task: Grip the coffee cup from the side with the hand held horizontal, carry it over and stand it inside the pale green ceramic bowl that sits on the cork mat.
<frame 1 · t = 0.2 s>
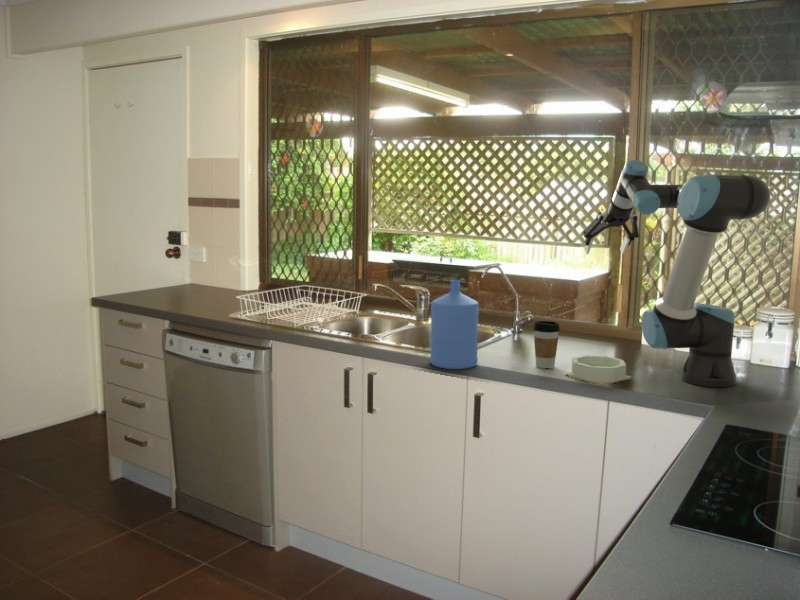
hand: (604, 251, 246), 35 cm above the worktop, tool tilted 35°, fingers open, 13 cm apart
coffee cup: (544, 367, 222), on the worktop
water jug: (453, 364, 226), on the worktop
bowl: (598, 377, 210), on the worktop
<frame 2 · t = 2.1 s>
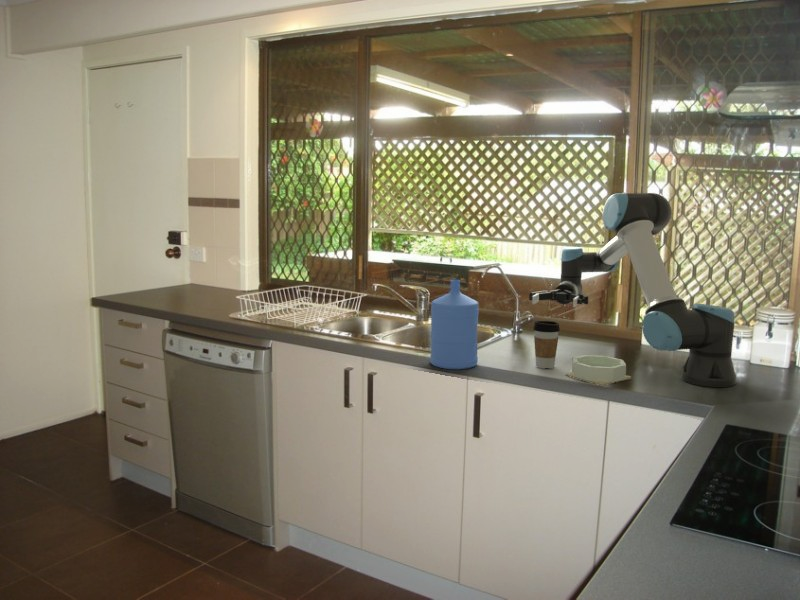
hand: (553, 301, 228), 20 cm above the worktop, tool horizontal, fingers open, 13 cm apart
nothing on the worktop moved.
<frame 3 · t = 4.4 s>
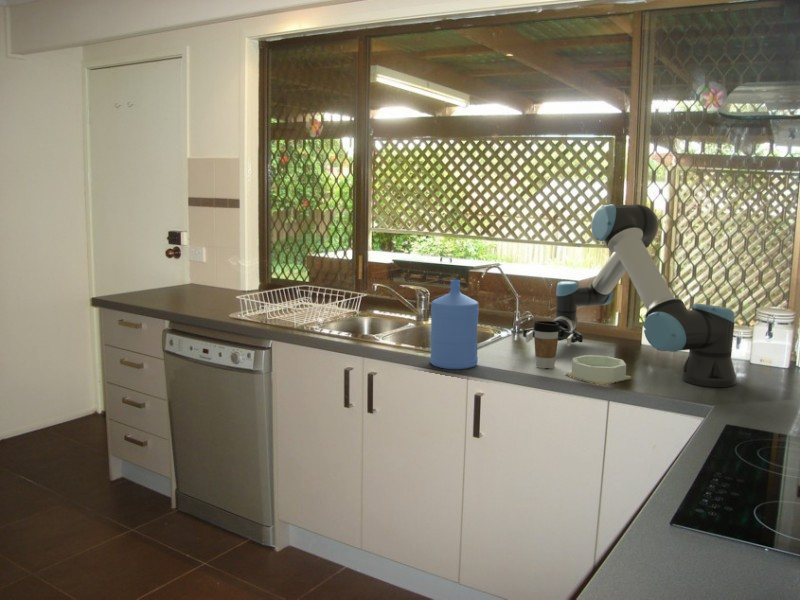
hand: (547, 340, 225), 8 cm above the worktop, tool horizontal, fingers open, 13 cm apart
nothing on the worktop moved.
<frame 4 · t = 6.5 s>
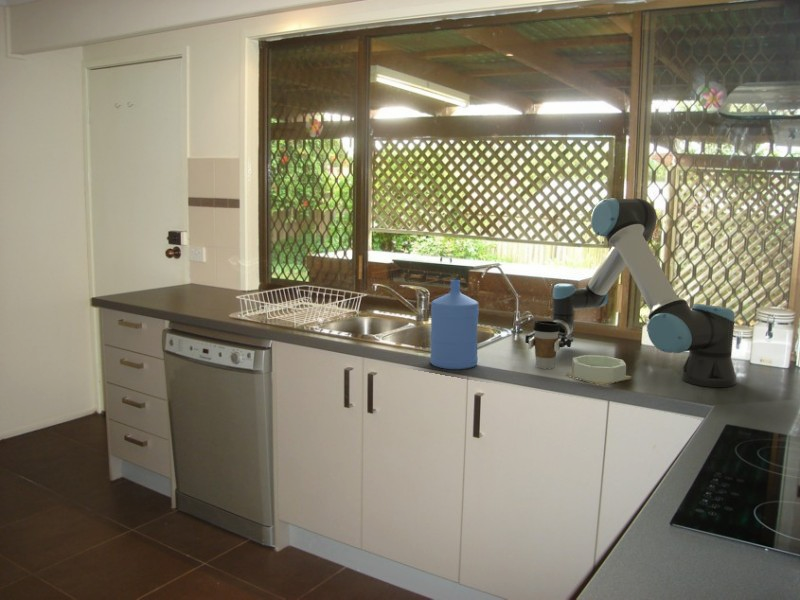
hand: (542, 345, 217), 8 cm above the worktop, tool horizontal, fingers closed on coffee cup, 8 cm apart
coffee cup: (544, 367, 222), on the worktop, touching gripper
everything else where it was.
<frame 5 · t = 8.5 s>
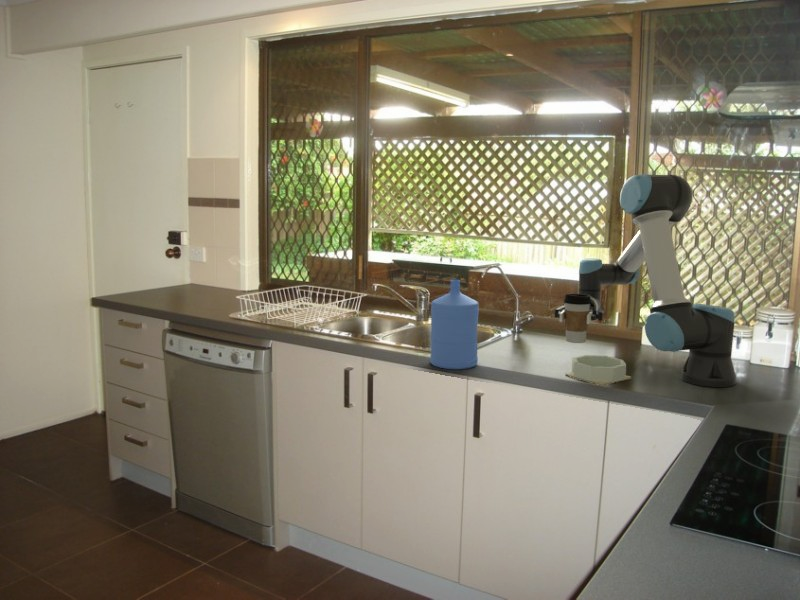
hand: (574, 318, 209), 18 cm above the worktop, tool horizontal, fingers closed on coffee cup, 8 cm apart
coffee cup: (575, 341, 215), point 10 cm above the worktop, touching gripper
everything else where it was.
when the fingers open (11 cm above the worktop, at t = 10.7 s): coffee cup drops 2 cm, resting on bowl.
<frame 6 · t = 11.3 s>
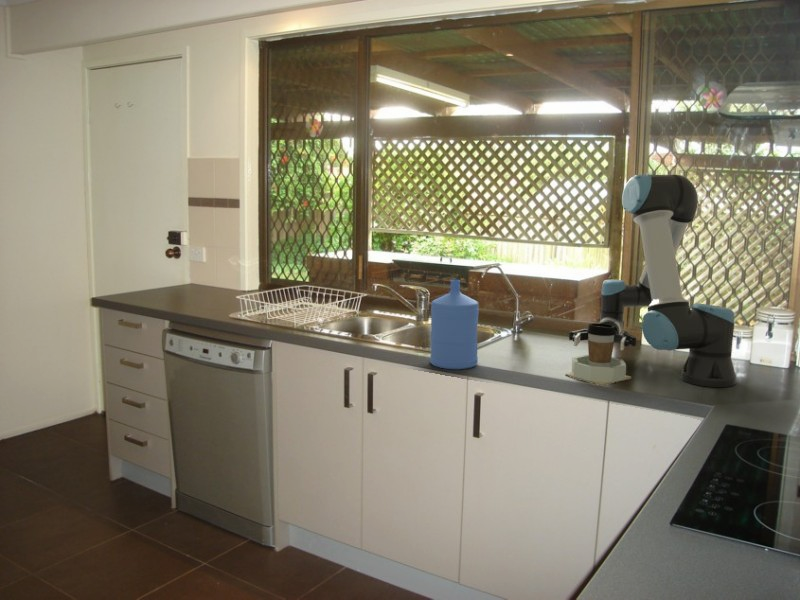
hand: (598, 343, 206), 11 cm above the worktop, tool horizontal, fingers open, 13 cm apart
coffee cup: (599, 372, 210), point 1 cm above the worktop, touching bowl
everything else where it was.
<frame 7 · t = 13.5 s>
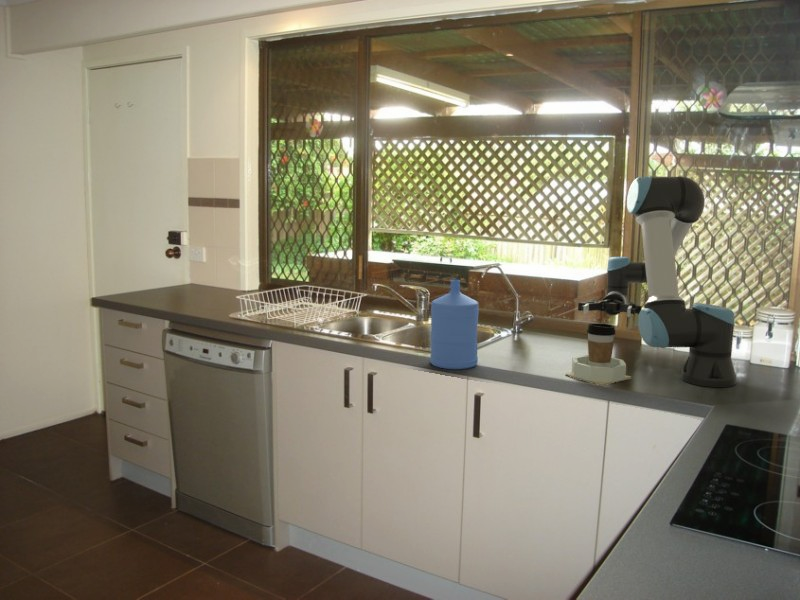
hand: (606, 311, 219), 19 cm above the worktop, tool horizontal, fingers open, 13 cm apart
nothing on the worktop moved.
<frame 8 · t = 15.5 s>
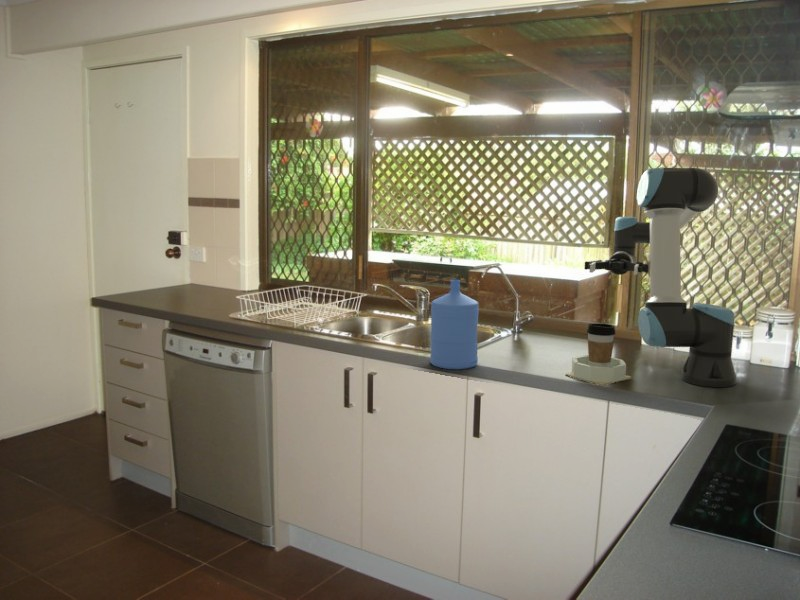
hand: (613, 269, 218), 32 cm above the worktop, tool horizontal, fingers open, 13 cm apart
nothing on the worktop moved.
at the end: coffee cup 0.3 cm from the bowl (horizontally); coffee cup tilted 0°; the gripper is holding nothing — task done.
